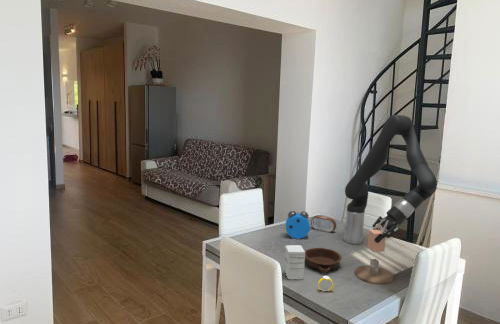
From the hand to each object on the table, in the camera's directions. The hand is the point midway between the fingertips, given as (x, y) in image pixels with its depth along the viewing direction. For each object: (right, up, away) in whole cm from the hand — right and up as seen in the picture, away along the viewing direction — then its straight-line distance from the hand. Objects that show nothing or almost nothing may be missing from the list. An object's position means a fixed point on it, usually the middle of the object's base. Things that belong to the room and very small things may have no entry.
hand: (372, 239), depth 163 cm
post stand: (+1, -16, +3) cm, 17 cm away
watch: (-23, -18, -12) cm, 31 cm away
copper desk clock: (-10, -7, +59) cm, 60 cm away
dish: (-19, -15, +13) cm, 28 cm away
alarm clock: (-27, -9, +47) cm, 55 cm away
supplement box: (-34, -16, +1) cm, 38 cm away
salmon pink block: (+2, -5, +1) cm, 5 cm away
